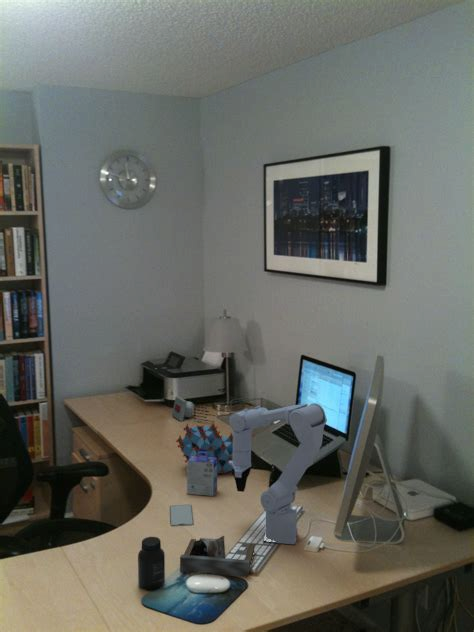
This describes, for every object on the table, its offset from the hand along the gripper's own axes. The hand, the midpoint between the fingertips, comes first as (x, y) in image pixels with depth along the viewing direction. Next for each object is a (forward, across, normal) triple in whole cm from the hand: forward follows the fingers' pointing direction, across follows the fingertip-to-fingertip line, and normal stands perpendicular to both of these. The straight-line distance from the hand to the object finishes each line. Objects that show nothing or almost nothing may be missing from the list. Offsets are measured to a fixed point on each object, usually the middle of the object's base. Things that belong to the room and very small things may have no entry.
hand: (240, 490), depth 202 cm
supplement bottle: (+10, +39, -18) cm, 44 cm away
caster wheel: (+11, +23, -6) cm, 26 cm away
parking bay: (+10, +24, -2) cm, 26 cm away
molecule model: (+11, -42, -18) cm, 46 cm away
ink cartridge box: (+11, -21, -16) cm, 29 cm away
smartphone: (+11, -2, -20) cm, 23 cm away
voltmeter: (+12, -103, -38) cm, 111 cm away
